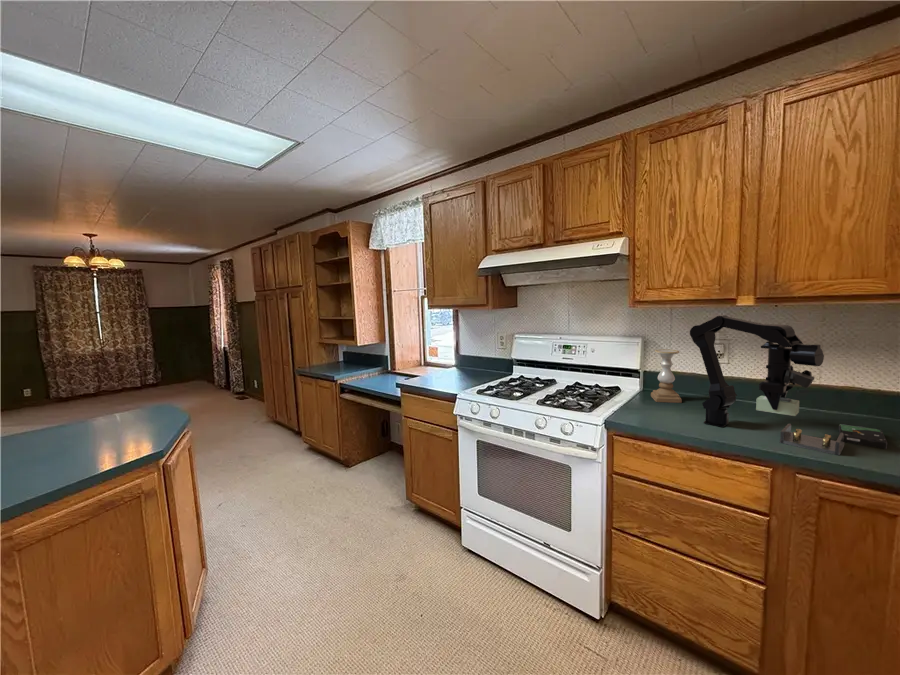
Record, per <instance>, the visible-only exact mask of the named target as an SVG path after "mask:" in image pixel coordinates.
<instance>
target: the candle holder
mask: <svg viewBox="0 0 900 675" xmlns="http://www.w3.org/2000/svg"><path fill="white" fill-rule="evenodd" d="M654 353H655V354H659V355H660V357H661V362H660V365H661V367H662V368H661V371H660V372H659V373H658V375H657V380H658V381H659V384H658V387H659V388H658V389H653V390H652V392H650V397H651V399H653V400H654V401H655V403H656V402H657V403H674V404H677V403H678V404H681V403H682V400H683V399H682V397H680V395H679V394H678V392H676V390H674V384H673V382H675V380H676V377H675V375H674V373H673V372H672V370H671V368H672V367H673V365H674V364H673V362H672V358H673V357H674V355H678V354H680V350H678V349H665V348H661V349H655V350H654Z"/></svg>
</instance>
